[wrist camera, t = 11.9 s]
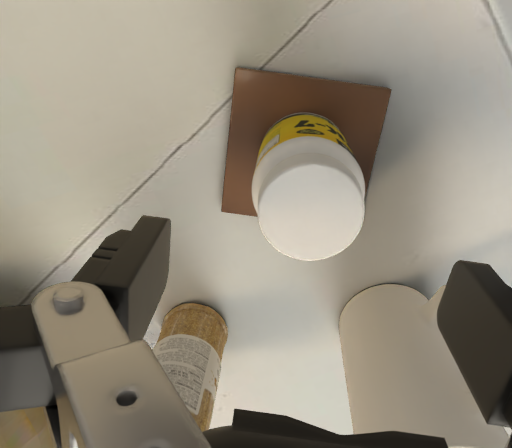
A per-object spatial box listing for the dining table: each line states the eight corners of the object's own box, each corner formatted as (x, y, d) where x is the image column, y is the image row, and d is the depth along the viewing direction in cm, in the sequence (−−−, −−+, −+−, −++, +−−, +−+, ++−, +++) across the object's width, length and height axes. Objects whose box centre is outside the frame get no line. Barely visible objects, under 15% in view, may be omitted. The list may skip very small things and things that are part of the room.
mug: (399, 377, 30) (463, 573, 20) (315, 339, 30) (333, 522, 19) (495, 267, 27) (643, 435, 16) (402, 219, 26) (490, 361, 15)
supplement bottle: (365, 141, 23) (404, 198, 16) (314, 210, 25) (328, 291, 17) (289, 92, 22) (292, 126, 15) (242, 167, 24) (223, 232, 17)
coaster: (236, 66, 23) (235, 67, 22) (389, 87, 23) (391, 89, 22) (222, 208, 26) (221, 211, 25) (355, 226, 26) (357, 230, 25)
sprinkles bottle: (215, 362, 31) (171, 582, 19) (154, 340, 30) (67, 552, 18) (238, 313, 29) (206, 522, 17) (173, 289, 29) (91, 487, 16)
